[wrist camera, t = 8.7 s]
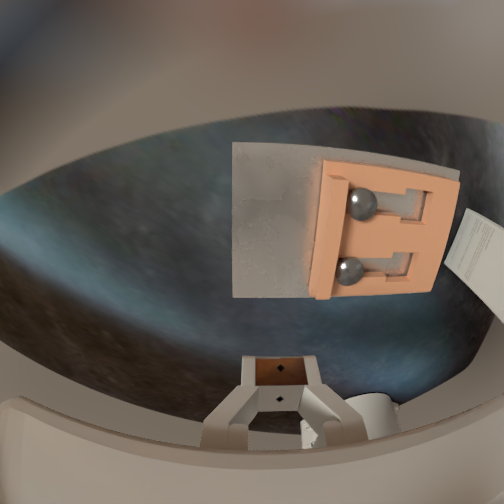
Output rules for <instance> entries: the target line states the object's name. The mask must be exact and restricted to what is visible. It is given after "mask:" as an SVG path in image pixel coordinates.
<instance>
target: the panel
mask: <svg viewBox="0 0 504 504" xmlns="http://www.w3.org/2000/svg"><path fill="white" fill-rule="evenodd" d="M357 187H364V188H367V189H369V190H370V191H377V192H386V193H395V194H403V195H405V194H406V188H410V189H417V190H423V191H427V195H426V201H425V206H424V211H423V215H422V220H421V221H410V220H401V216H399V215H398V214H397V213H389V212H375V213H374V215H373V216H372V217H371V218H369V219H368V220H365V221H357V220H355V219H353V218H352V217H351V216H350V215H349V214H348V213H347V211H346V201H347V195H348V193H349V189H355V188H357ZM459 187H460V182H458V181H456V180H453V179H448V178H444V177H439V176H434V175H429V174H424V173H419V172H413V171H408V170H402V169H396V168H390V167H383V166H376V165H369V164H361V163H352V162H344V161H334V160H324V161H323V173H322V185H321V195H320V205H319V214H318V223H317V231H316V239H315V247H314V254H313V262H312V269H311V275H310V282H309V289H308V292H309V295H310V297H315V298H316V300H317V299H330V296H356V295H379V294H397V293H413V292H427V291H431V289H432V286H433V283H434V281H435V278H436V275H437V272H438V269H439V266H440V263H441V260H442V257H443V253H444V250H445V247H446V243H447V240H448V236H449V232H450V228H451V224H452V220H453V216H454V212H455V207H456V202H457V198H458V192H459ZM393 252H411V253H413V256H412V260H411V263H410V266H409V270H408V273H407V276H396V277H386V275H385V274H384V273H383V272H364V274H363V276H362V278H361V279H360V280H359V281H358V282H357V283H356V284H354V285H351V286H343V285H341V284H339V283H338V281H337V279H336V277H335V270H336V264H337V263H338V258H345V257H349V256H353V257H356V258H392V255H393Z"/></svg>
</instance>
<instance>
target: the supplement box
mask: <svg viewBox="0 0 504 504" xmlns="http://www.w3.org/2000/svg"><path fill="white" fill-rule="evenodd" d="M444 264H445V265H446V266H447V267H448V268H449V269H451V270H452V271H453V272H454V273H455V274H456V275H457V276H458V277H459V278H460V279H461V280H462V281H463V282H464V283H465V284H466V285H467V286H468V287H469V288H470V289H471V290H472V291H473V292H474V293H475V294H476V295H477V296H478V297H479V298H480V299H481V300H482V301H483V302H484V303H485V304H486V305H487V306H488V307H489V308H490V309H491V310H492V311H493V313H494V314H495V315H496V316H497V317H498V318H499V319H500V320H501V322H502V323H503V324H504V228H502V227H501V226H499V225H498V224H496V223H494V222H493V221H491V220H489V219H487V218H486V217H484V216H482V215H480V214H478V213H476V212H474V211H472V210H470V209H468V208H466V211H465V214H464V216H463V219H462V222H461V224H460V227H459V230H458V232H457V235H456V237H455V239H454V242H453V244H452V246H451V249H450V251H449V253H448V255H447V257H446V260H445V262H444Z"/></svg>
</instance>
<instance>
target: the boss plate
mask: <svg viewBox="0 0 504 504" xmlns="http://www.w3.org/2000/svg"><path fill="white" fill-rule="evenodd" d="M324 160H334V161H344V162H352V163H361V164H369V165H376V166H383V167H390V168H396V169H402V170H408V171H413V172H419V173H424V174H429V175H434V176H439V177H444V178H448V179H453V180H456V181H459V175H460V171H459V170H456V169H453V168H449V167H445V166H441V165H437V164H432V163H428V162H423V161H419V160H414V159H409V158H404V157H398V156H393V155H387V154H381V153H375V152H368V151H361V150H354V149H346V148H338V147H328V146H318V145H306V144H293V143H275V142H237V141H233V148H232V279H233V298H304V297H310V295H309V292H308V289H309V282H310V275H311V269H312V262H313V254H314V247H315V239H316V231H317V223H318V214H319V205H320V195H321V185H322V173H323V161H324ZM426 195H427V191H423V190H417V189H410V188H406V194H405V195H403V194H395V193H386V192H377V191H370V190H369V189H367V188H364V187H357V188H355V189H349V193H348V195H347V201H346V211H347V213H348V214H349V215H350V216H351V217H352V218H353V219H355V220H357V221H365V220H368V219H369V218H371V217H372V216H373V215H374V213H375V212H389V213H397V214H398V215H399V216H401V220H410V221H421V220H422V215H423V211H424V206H425V201H426ZM412 256H413V253H411V252H393V255H392V258H356V257H353V256H349V257H345V258H338V263H337V264H336V270H335V277H336V279H337V281H338V283H339V284H341V285H343V286H351V285H354V284H356V283H357V282H358V281H359V280H360V279H361V278H362V276H363V274H364V272H383V273H384V274H385V275H386V277H396V276H407V273H408V270H409V266H410V263H411V260H412ZM427 292H429V291H427ZM413 293H420V292H413ZM397 294H405V293H397ZM379 295H389V294H379ZM356 296H369V295H356ZM330 297H344V296H330Z"/></svg>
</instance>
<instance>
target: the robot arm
mask: <svg viewBox="0 0 504 504" xmlns="http://www.w3.org/2000/svg"><path fill="white" fill-rule="evenodd" d="M399 409H400V408H399V405H398V404H397V403H394V402H392V401H391V398H390V397H389V396H388V395H386V394H382V393H370V394H364V395H359V396H355V397H352V398H349V399H346V400H343V399H342V398H341V397H339V396H338V395H337V394H336V393H335V392H334V391H332V390H331V389H330V388H329V387H328V386H327V385H326V384H322V382H321V378H320V373H319V369H318V364H317V360H316V357H315V356H284V357H267V356H243V358H242V376H241V386H237V387H236V388H235V389H234V390H233V391H232V392H231V393H230V394H229V395H228V396H227V397H226V398H225V399H224V400H223V401H222V403H221V404H220V405H219V406H218V407H217V408H216V409H215V410H214V411H213V412H212V413H211V414H210V415H209V416H208V417H207V418H206V419H205V420H204V423H203V430H202V436H201V442H200V447H195V446H187V445H179V444H173V443H167V442H161V441H156V440H151V439H145V438H141V437H137V436H132V435H128V434H124V433H120V432H117V431H113V430H109V429H105V428H102V427H99V426H96V425H93V424H90V423H87V422H84V421H81V420H78V419H75V418H72V417H70V416H67V415H64V414H62V413H60V412H57V411H55V410H52V409H50V408H48V407H45V406H43V405H41V404H38V403H36V402H34V401H32V400H30V399H28V398H25V397H23V396H16V397H14V398H11V399H9V400H7V401H5V402H3V403H1V404H0V504H504V393H503V394H501V395H499V396H497V397H495V398H493V399H491V400H489V401H487V402H485V403H483V404H481V405H478V406H476V407H474V408H472V409H470V410H467V411H465V412H462V413H460V414H457V415H455V416H452V417H449V418H447V419H444V420H441V421H438V422H435V423H433V424H429V425H426V426H423V427H420V428H416V429H413V430H410V431H406V432H401V428H400V424H399V421H398V417H397V412H398V410H399ZM258 411H298V412H299V414H300V415H301V416H302V417H303V418H304V420H302V421H301V422H300V426H301V437H302V449H296V450H295V449H294V450H267V451H266V450H248V425H249V424H250V422H251V421H252V419H253V418H254V417H255V415H256V414H257V412H258Z"/></svg>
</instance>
